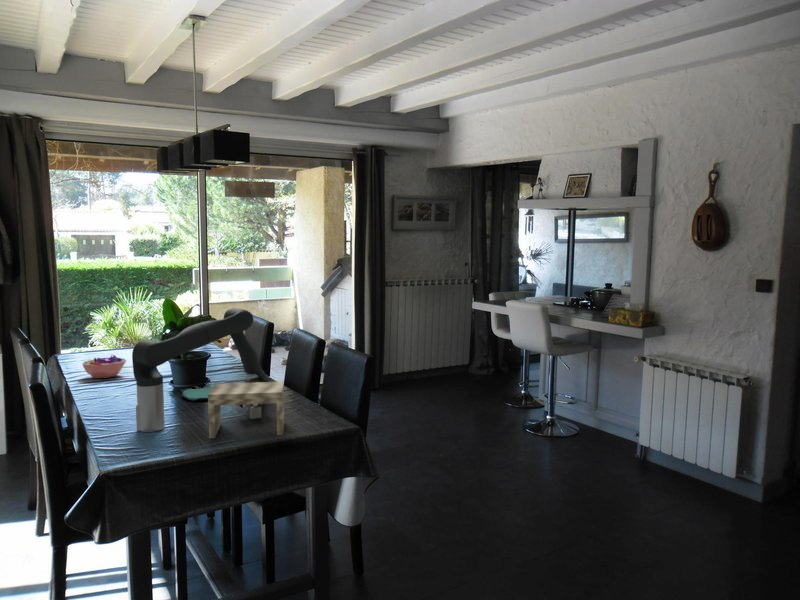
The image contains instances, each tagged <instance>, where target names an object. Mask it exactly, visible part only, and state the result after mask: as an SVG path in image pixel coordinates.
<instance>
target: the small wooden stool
mask: <svg viewBox="0 0 800 600" xmlns="http://www.w3.org/2000/svg"><path fill="white" fill-rule="evenodd" d="M284 384H285V383H284V381H269V382H255V383H245V382H233V383H232V382H229V383H226V382H225V383H214V384H213V385H212V389H211V390H210V392H209V394H208V399H207V408H208V438H209V439H215V438H216V436H217V435H218V431H219V430H220V428H221V425H222V417H221V415H222V413H221V406H239V405H241V404H264V405H268V404H276V433H277V434H276V435H277V436H283V434H284V427H285V426H284V425H285V393H284V392H285V390H284V389H285V388H284V387H285V386H284Z"/></svg>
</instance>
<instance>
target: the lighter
mask: <svg viewBox="0 0 800 600" xmlns="http://www.w3.org/2000/svg"><path fill="white" fill-rule="evenodd" d="M243 406H245V408H246V410H247V411H249V418H250V419H251V420H255V419H259V418H262V406H260V407H258V404H255V405H249V404H244V405H243Z"/></svg>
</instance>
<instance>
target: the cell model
mask: <svg viewBox="0 0 800 600" xmlns="http://www.w3.org/2000/svg"><path fill="white" fill-rule="evenodd" d="M93 358H94V359H90V360H86V361H84V362H82V363H81V364H82V367H83V368H84V370H85V372H86V373H87V375H88V376H89V375H90V376H91V377H93V378H94V379H107V378H112V377H115V376H117V375H119V374H120V372H121V371H122V370H123V368H124V365H125V364H126V362H127V360H126V359H125V358H120V357H117V356H116V355H115V354H110V357H103V358H101V357H93Z"/></svg>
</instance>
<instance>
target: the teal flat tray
mask: <svg viewBox="0 0 800 600" xmlns="http://www.w3.org/2000/svg"><path fill="white" fill-rule="evenodd" d="M206 384H207V385H206V386H204V387H203V388H201V387H195V388H196V389H192V388H186V389H180V392H182V393H181V396H182V397H183V398H185V399H188V400H189V401H196V400H201V401H202V400H204V401H205V400H208V394H209V392H210V390H211V389H212V387H213V385H212V386H211V384H209V383H206Z"/></svg>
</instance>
